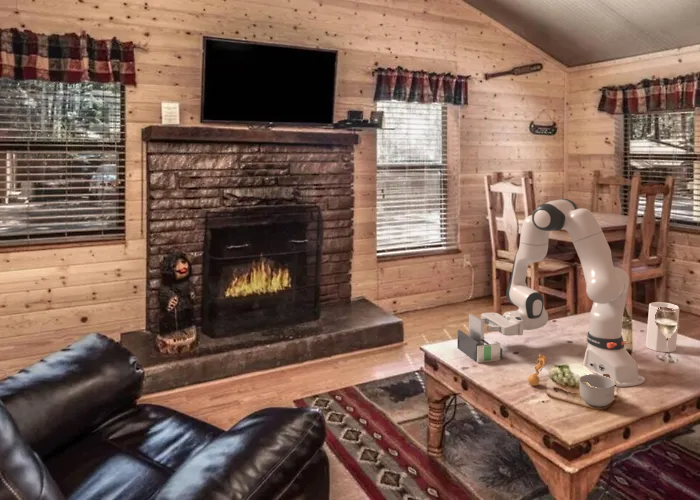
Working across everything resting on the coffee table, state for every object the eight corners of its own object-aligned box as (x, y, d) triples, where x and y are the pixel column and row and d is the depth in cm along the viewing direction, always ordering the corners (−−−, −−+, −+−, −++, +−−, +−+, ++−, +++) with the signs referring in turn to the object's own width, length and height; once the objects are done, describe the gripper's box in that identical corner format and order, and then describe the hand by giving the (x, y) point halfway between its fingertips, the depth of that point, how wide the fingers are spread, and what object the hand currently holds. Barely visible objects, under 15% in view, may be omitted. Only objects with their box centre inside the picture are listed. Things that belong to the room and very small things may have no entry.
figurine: (526, 380, 193) (527, 349, 190) (543, 380, 192) (544, 350, 189) (529, 390, 185) (531, 358, 182) (547, 391, 184) (549, 359, 181)
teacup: (611, 413, 167) (612, 390, 166) (575, 405, 173) (576, 382, 172) (616, 395, 179) (618, 374, 177) (582, 388, 185) (583, 367, 183)
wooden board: (489, 356, 210) (489, 323, 207) (485, 357, 209) (486, 324, 207) (471, 344, 223) (472, 313, 221) (468, 344, 223) (468, 313, 220)
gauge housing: (504, 359, 212) (505, 340, 210) (478, 363, 208) (478, 344, 207) (482, 344, 228) (482, 327, 227) (457, 347, 225) (457, 330, 224)
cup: (650, 341, 227) (654, 300, 224) (679, 347, 219) (683, 305, 216) (641, 348, 220) (644, 305, 216) (670, 355, 212) (675, 311, 208)
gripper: (498, 307, 230) (470, 311, 227) (525, 321, 211) (495, 325, 207) (497, 321, 231) (469, 324, 228) (524, 336, 212) (494, 340, 208)
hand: (482, 325), depth 217 cm, fingers open, 8 cm apart
